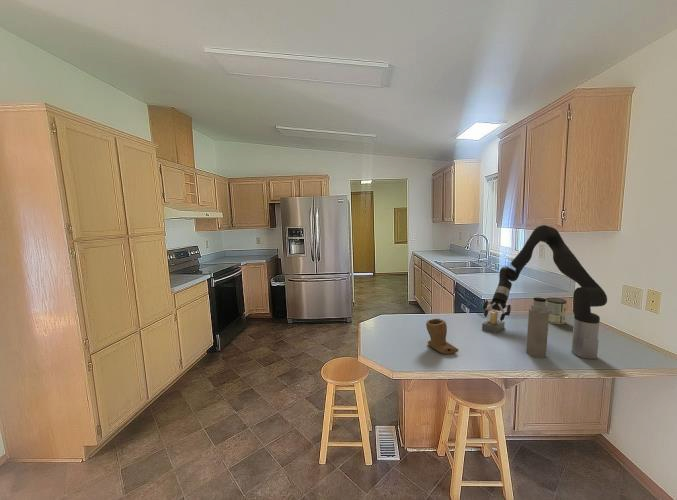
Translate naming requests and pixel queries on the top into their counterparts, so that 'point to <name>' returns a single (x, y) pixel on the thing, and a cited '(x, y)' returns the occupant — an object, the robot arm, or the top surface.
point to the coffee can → (556, 310)
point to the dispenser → (493, 326)
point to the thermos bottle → (537, 328)
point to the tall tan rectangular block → (493, 317)
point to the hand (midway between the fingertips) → (493, 318)
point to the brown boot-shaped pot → (439, 336)
